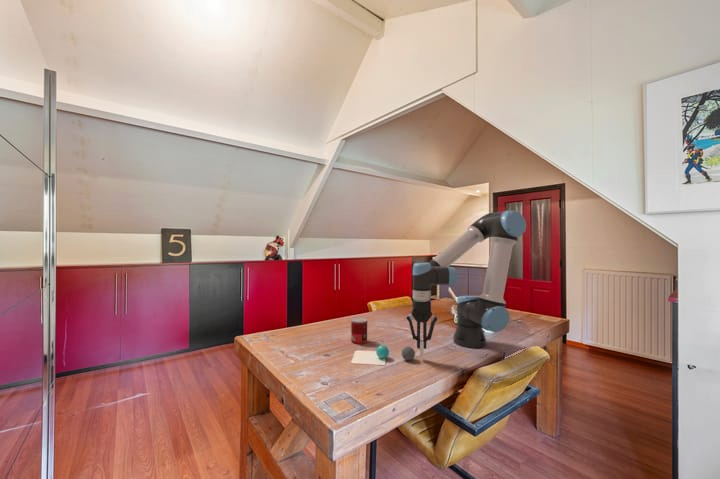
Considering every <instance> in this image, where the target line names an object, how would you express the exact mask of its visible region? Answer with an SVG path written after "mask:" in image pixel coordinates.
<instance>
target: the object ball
mask: <svg viewBox="0 0 720 479" xmlns="http://www.w3.org/2000/svg"><path fill="white" fill-rule="evenodd" d="M375 351H376V354H377V356H378V357H379V358H381V359H385V358H388V357H389V354H390V350H389V348H388V346H386V345H385V344H382V345H379V346H378V347H377V348H376V349H375Z"/></svg>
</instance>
